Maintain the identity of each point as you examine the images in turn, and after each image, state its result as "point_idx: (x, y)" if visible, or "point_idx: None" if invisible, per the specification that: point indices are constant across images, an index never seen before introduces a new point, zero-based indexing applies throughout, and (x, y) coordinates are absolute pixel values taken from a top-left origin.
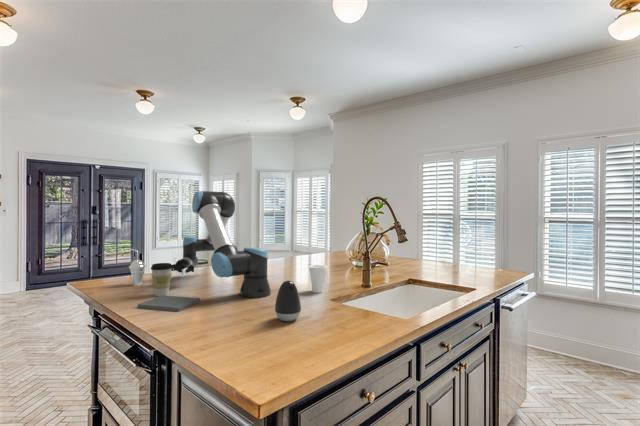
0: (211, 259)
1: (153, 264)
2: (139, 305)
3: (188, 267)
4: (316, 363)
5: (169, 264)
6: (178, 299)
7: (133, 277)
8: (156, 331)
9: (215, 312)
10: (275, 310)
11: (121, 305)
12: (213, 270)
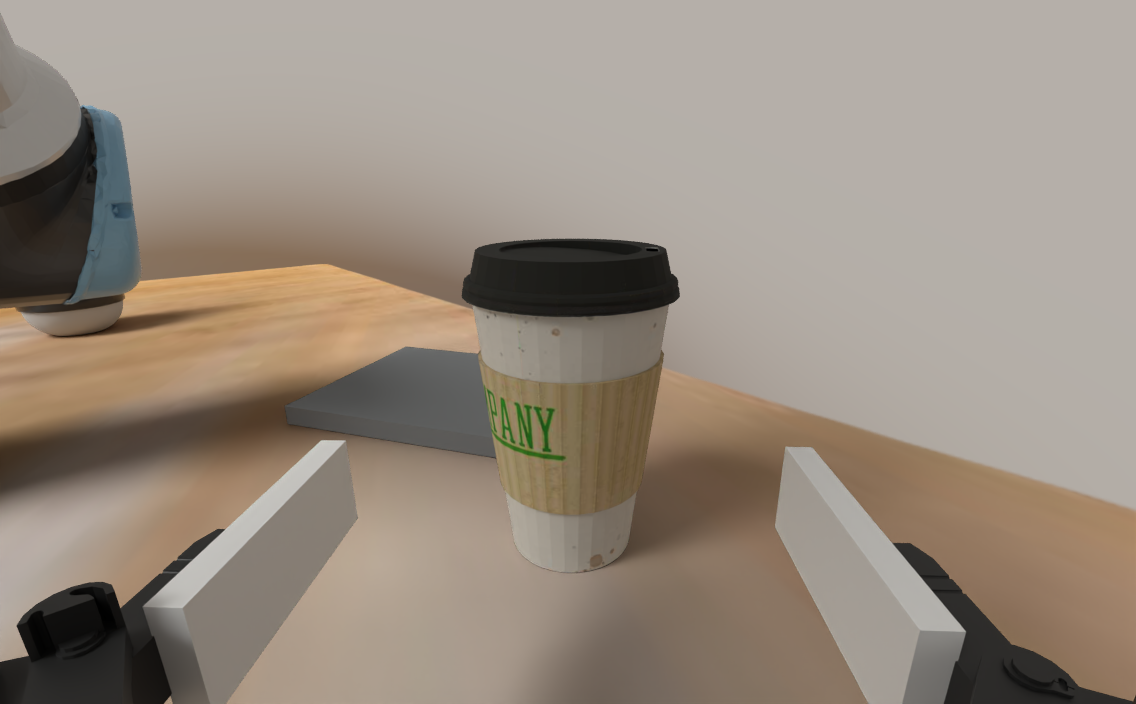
0: (127, 168)
1: (657, 248)
2: None
3: (115, 611)
4: (212, 278)
5: (485, 247)
6: (410, 395)
7: None
8: (455, 309)
9: (272, 355)
10: (121, 296)
11: (691, 398)
12: (139, 255)
